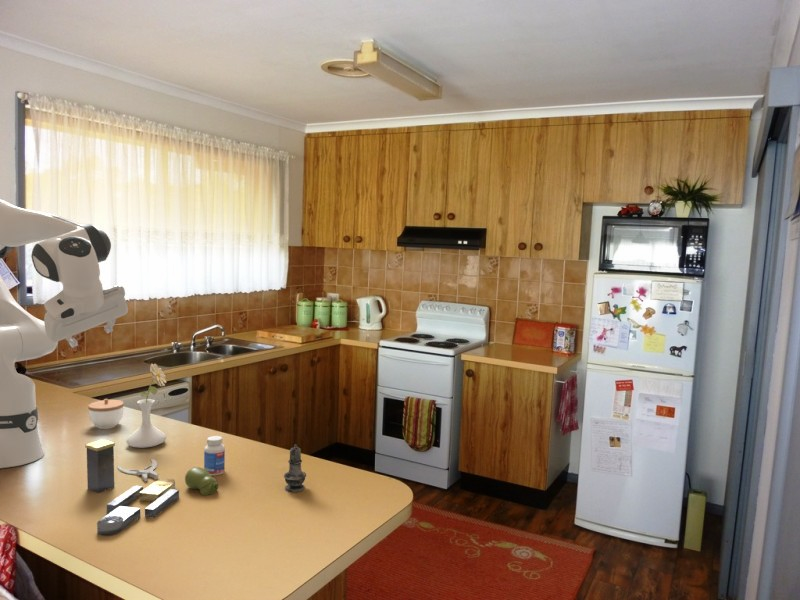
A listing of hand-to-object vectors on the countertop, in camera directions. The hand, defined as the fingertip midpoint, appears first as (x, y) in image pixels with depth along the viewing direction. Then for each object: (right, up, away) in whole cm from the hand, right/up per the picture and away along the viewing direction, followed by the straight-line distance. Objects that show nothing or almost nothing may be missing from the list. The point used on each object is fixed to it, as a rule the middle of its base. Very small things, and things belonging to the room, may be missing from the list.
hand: (91, 338), depth 158 cm
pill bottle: (+32, -38, +5) cm, 49 cm away
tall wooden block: (+6, -38, -8) cm, 39 cm away
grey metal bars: (+20, -40, -21) cm, 49 cm away
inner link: (+22, -39, -9) cm, 46 cm away
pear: (+32, -39, -7) cm, 51 cm away
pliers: (+12, -38, +4) cm, 40 cm away
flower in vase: (+5, -35, +25) cm, 43 cm away
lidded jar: (-16, -33, +40) cm, 54 cm away
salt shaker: (+55, -39, -4) cm, 68 cm away
